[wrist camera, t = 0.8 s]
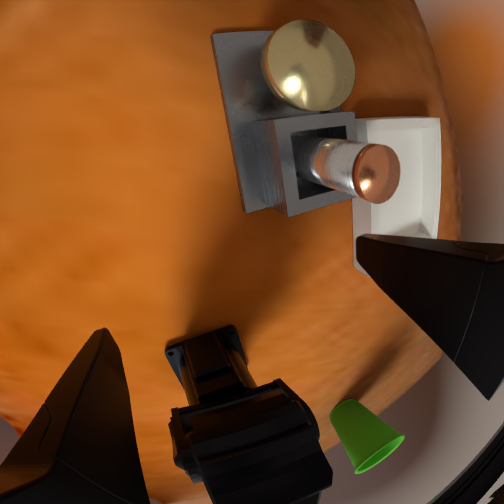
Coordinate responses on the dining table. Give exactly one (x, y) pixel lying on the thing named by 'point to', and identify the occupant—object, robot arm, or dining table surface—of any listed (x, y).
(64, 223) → the dining table surface
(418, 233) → the tray
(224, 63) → the plate
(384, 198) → the pin
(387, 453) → the cup
